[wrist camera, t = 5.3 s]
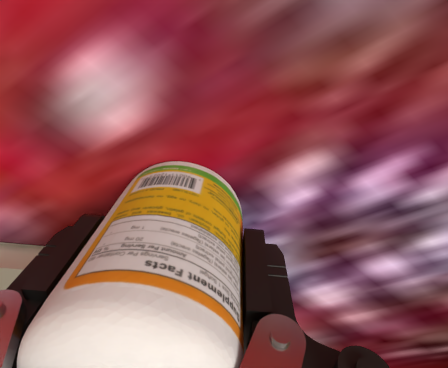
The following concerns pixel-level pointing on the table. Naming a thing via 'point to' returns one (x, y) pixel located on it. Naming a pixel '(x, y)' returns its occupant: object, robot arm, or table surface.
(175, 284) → the supplement bottle
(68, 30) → the table surface
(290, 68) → the table surface
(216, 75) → the table surface
